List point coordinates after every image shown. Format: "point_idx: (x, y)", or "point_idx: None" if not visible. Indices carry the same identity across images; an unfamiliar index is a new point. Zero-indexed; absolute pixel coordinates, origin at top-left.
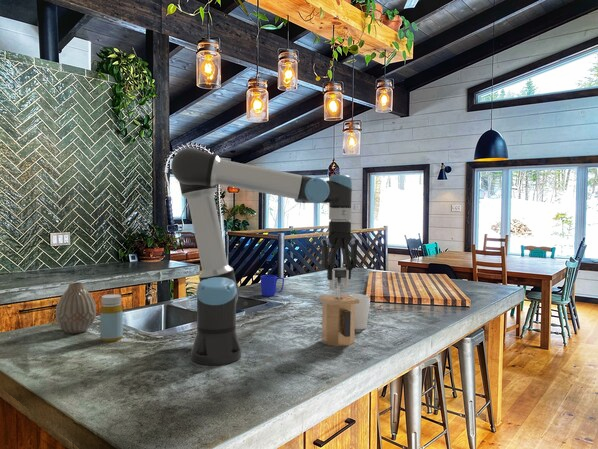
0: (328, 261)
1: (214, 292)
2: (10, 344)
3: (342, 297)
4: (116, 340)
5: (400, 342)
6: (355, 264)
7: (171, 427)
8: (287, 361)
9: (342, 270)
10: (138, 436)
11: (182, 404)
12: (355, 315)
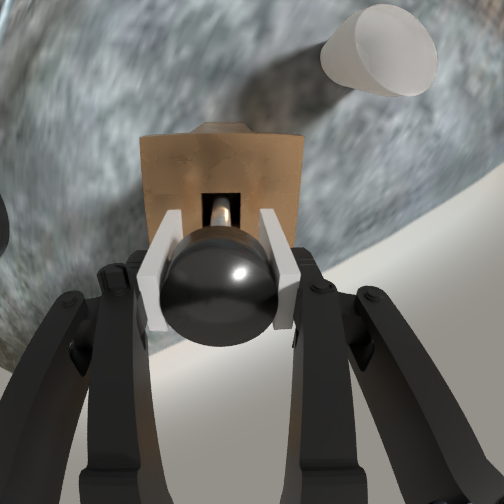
0: (96, 341)
1: None
2: None
3: (244, 205)
4: None
5: (370, 222)
6: (366, 352)
7: (16, 365)
8: (78, 267)
9: (234, 335)
10: (4, 365)
11: (4, 339)
12: (343, 79)
